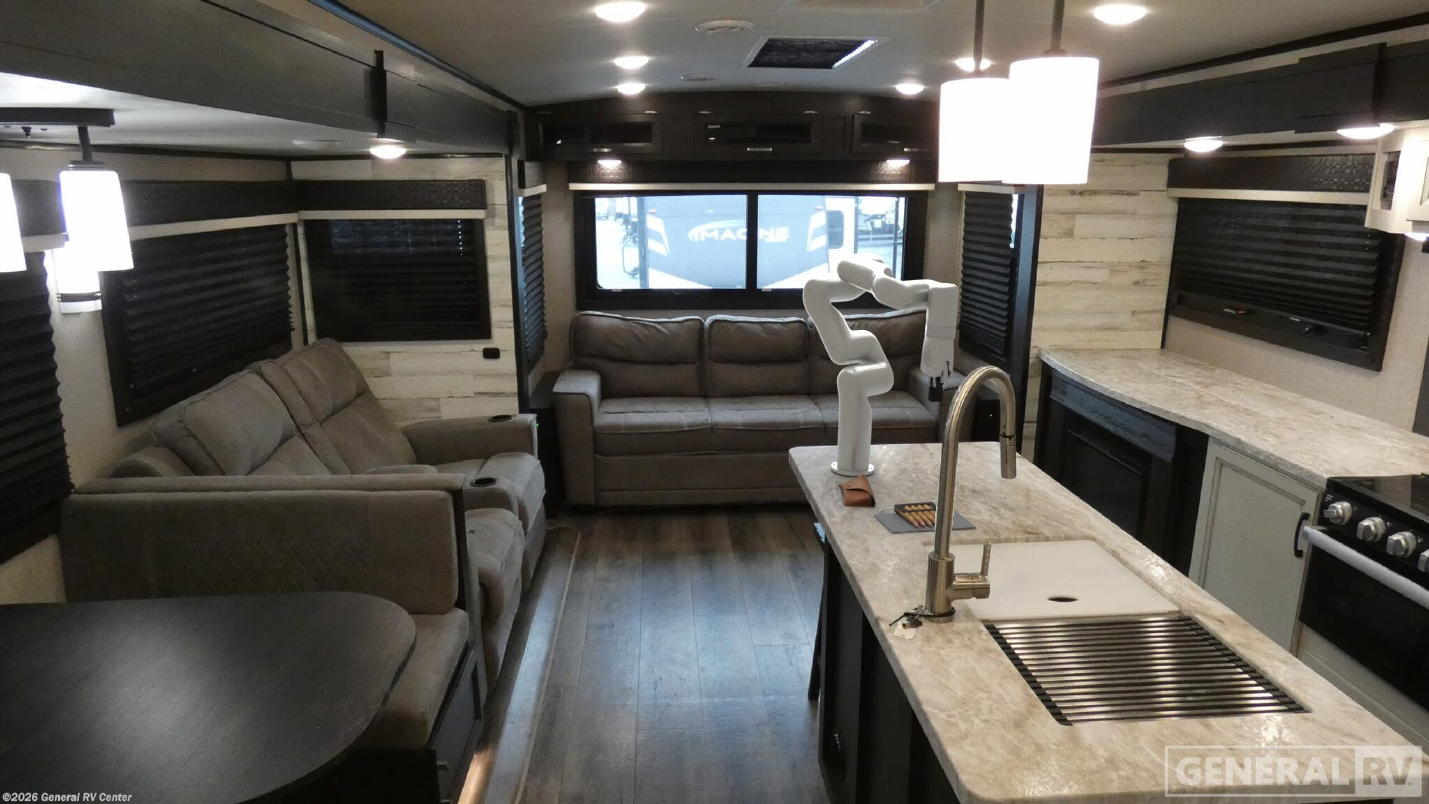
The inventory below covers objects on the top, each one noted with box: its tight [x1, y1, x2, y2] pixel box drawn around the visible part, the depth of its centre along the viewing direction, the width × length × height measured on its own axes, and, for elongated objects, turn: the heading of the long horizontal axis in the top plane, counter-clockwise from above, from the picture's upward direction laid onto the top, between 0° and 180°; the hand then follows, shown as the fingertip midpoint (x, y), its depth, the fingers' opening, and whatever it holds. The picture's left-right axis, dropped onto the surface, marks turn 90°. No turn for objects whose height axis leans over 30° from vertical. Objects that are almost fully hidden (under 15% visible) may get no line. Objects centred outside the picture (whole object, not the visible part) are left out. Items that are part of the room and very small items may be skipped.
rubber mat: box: [873, 509, 977, 534], centre depth 224 cm, size 12×22×1 cm, turn 101°
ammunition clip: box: [893, 501, 937, 527], centre depth 225 cm, size 11×2×12 cm
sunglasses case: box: [838, 474, 876, 508], centre depth 242 cm, size 18×7×7 cm
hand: (934, 401), depth 235 cm, fingers closed
